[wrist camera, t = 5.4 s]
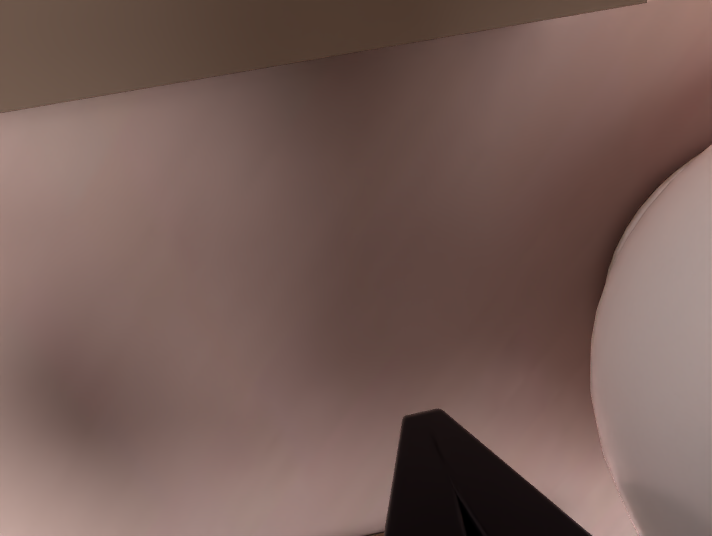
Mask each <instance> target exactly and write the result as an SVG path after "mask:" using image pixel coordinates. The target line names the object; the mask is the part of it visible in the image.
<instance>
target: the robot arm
mask: <svg viewBox="0 0 712 536" xmlns="http://www.w3.org/2000/svg"><path fill="white" fill-rule="evenodd" d="M384 536H592V535H591V534H590V533H588V532H587V531H586V530H585V529H584V528H582V527H581V526H580V525H579V524H578V523H576V522H575V521H574V520H573V519H572V518H570V517H569V516H568V515H567V514H566V513H564V512H563V511H562V510H561V509H560V508H559V507H557V506H556V505H555V504H554V503H553V502H551V501H550V500H549V499H548V498H547V497H545V496H544V495H543V494H542V493H541V492H539V491H538V490H537V489H536V488H535V487H534V486H532V485H531V484H530V483H529V482H528V481H526V480H525V479H524V478H523V477H522V476H520V475H519V474H518V473H517V472H516V471H514V470H513V469H512V468H511V467H510V466H509V465H507V464H506V463H505V462H504V461H503V460H501V459H500V458H499V457H498V456H497V455H495V454H494V453H493V452H492V451H491V450H489V449H488V448H487V447H486V446H485V445H483V444H482V443H481V442H480V441H479V440H478V439H476V438H475V437H474V436H473V435H472V434H470V433H469V432H468V431H467V430H466V429H464V428H463V427H462V426H461V425H460V424H458V423H457V422H456V421H455V420H454V419H453V418H451V417H450V416H449V415H448V414H447V413H445V412H444V411H443V410H441V409H433V410H429V411H424V412H420V413H415V414H411V415H406V416H405V417H404V418H403V420H402V426H401V432H400V438H399V444H398V451H397V457H396V463H395V469H394V476H393V482H392V488H391V495H390V501H389V507H388V513H387V520H386V526H385V532H384Z"/></svg>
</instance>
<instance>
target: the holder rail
mask: <svg viewBox="0 0 712 536" xmlns="http://www.w3.org/2000/svg"><path fill="white" fill-rule="evenodd" d="M642 3H647V0H0V113H4V112H10V111H15V110H21V109H27V108H33V107H39V106H45V105H51V104H56V103H62V102H68V101H74V100H80V99H86V98H92V97H97V96H103V95H109V94H115V93H121V92H127V91H133V90H138V89H144V88H150V87H156V86H162V85H168V84H174V83H179V82H185V81H191V80H197V79H203V78H209V77H215V76H220V75H226V74H232V73H238V72H244V71H250V70H256V69H261V68H267V67H273V66H279V65H285V64H291V63H296V62H302V61H308V60H314V59H320V58H326V57H332V56H337V55H343V54H349V53H355V52H361V51H367V50H373V49H378V48H384V47H390V46H396V45H402V44H408V43H414V42H419V41H425V40H431V39H437V38H443V37H449V36H455V35H460V34H466V33H472V32H478V31H484V30H490V29H496V28H501V27H507V26H513V25H519V24H525V23H531V22H537V21H542V20H548V19H554V18H560V17H566V16H572V15H578V14H583V13H589V12H595V11H601V10H607V9H613V8H619V7H624V6H630V5H636V4H642ZM370 536H384V533H380V534H375V535H370Z"/></svg>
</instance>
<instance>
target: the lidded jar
mask: <svg viewBox="0 0 712 536" xmlns="http://www.w3.org/2000/svg"><path fill="white" fill-rule="evenodd" d="M590 393H591V398H592V403H593V408H594V413H595V419H596V423H597V428H598V433H599V438H600V442H601V447H602V452H603V456H604V458H605V460H606V463H607V465H608V468H609V470H610V473H611V475H612V478H613V480H614V482H615V485H616V487H617V490H618V492H619V495H620V497H621V499H622V502H623V504H624V506H625V508H626V510H627V513H628V515H629V517H630V519H631V521H632V524H633V526H634V528H635V530H636V531H637V533H638V535H639V536H712V145H710V146H709V147H708V148H707V149H706V150H704V151H703V152H702V153H701V154H699V155H697V156H695V157H694V158H693V159H691V160H690V161H689V162H687V163H686V164H684V165H683V166H682V167H680V168H679V169H677V170H676V171H675V172H674V173H673V174H672V175H671V176H669V177H668V178H667V179H666V180H665V181H664V182H663V183H662V184H661V185H660V186H659V187H657V188H656V189H655V191H654V192H653V193H652V194H651V195H650V196H649V198H648V199H647V200H646V201H645V202H644V203H643V205H642V206H641V207H640V208H639V210H638V211H637V213H636V214H635V216H634V217H633V218H632V220H631V221H630V223H629V224H628V226H627V227H626V229H625V231H624V233H623V235H622V237H621V239H620V241H619V243H618V245H617V247H616V249H615V251H614V254H613V257H612V260H611V263H610V266H609V269H608V273H607V278H606V284H605V287H604V290H603V293H602V296H601V299H600V302H599V304H598V307H597V311H596V317H595V322H594V328H593V333H592V339H591V373H590Z"/></svg>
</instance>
